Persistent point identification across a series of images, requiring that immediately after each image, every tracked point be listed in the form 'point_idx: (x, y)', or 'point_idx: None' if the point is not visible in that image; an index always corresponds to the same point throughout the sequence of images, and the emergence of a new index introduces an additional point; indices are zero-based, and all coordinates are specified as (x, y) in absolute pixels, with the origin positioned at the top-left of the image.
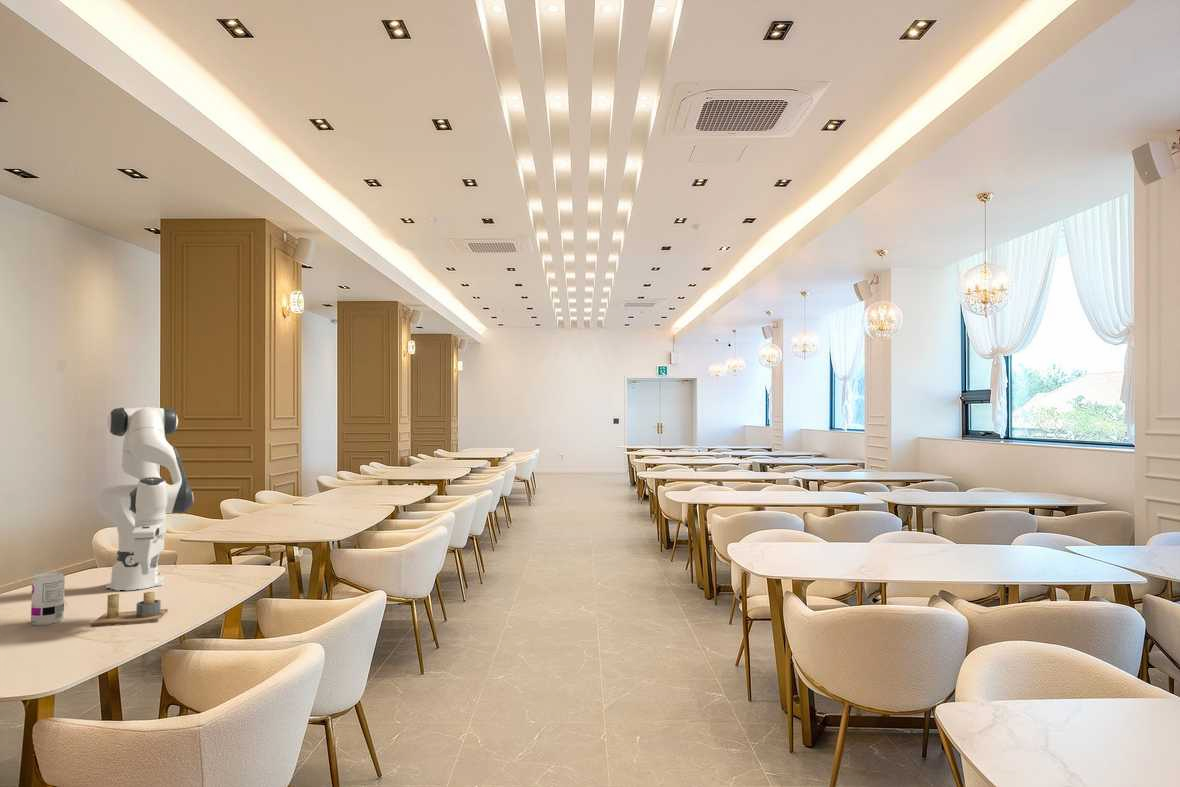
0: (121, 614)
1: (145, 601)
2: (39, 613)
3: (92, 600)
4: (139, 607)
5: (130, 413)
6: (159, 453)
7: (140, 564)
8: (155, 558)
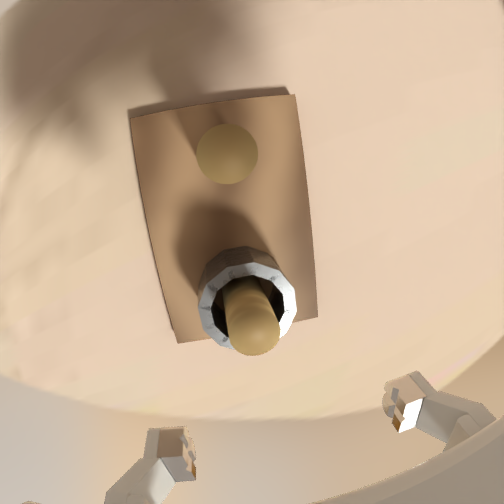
0: (263, 172)
1: (226, 311)
2: None
3: (473, 22)
4: (203, 286)
5: None
6: None
7: (106, 494)
8: (441, 428)
